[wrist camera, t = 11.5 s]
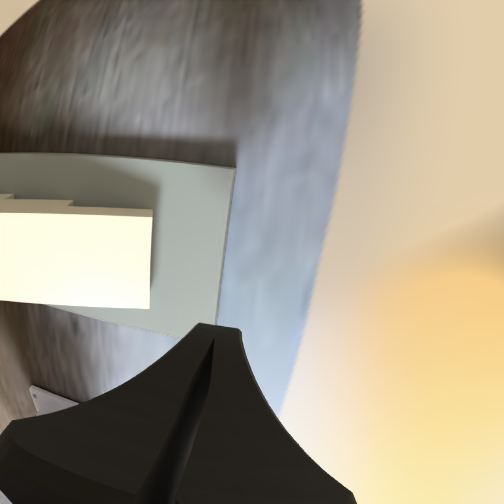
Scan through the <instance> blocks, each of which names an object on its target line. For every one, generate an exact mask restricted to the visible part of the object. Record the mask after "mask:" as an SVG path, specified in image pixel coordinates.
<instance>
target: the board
mask: <svg viewBox="0 0 504 504" xmlns="http://www.w3.org/2000/svg"><path fill="white" fill-rule="evenodd" d="M235 174H236V168H234V167H226V166H218V165H210V164H202V163H193V162H184V161H175V160H164V159H153V158H142V157H129V156H114V155H97V154H75V153H27V152H20V153H0V194H14V199H43V200H73V206H79V207H108V208H132V209H153V216H152V234H151V256H150V302H149V309H140V308H110V307H88V306H70V305H54V304H45V305H48V306H51V307H55V308H58V309H62V310H65V311H69V312H72V313H76V314H79V315H83V316H87V317H91V318H95V319H99V320H102V321H106V322H110V323H115V324H119V325H123V326H127V327H132V328H136V329H140V330H145V331H150V332H154V333H159V334H164V335H169V336H174V337H179V338H183V337H184V336H185V335H186V334H187V333H188V332H189V331H190V330H191V329H192V328H193V327H194V326H195V325H196V324H198V323H199V322H200V323H206V324H212V325H217V316H218V307H219V298H220V290H221V281H222V273H223V265H224V257H225V249H226V241H227V233H228V225H229V218H230V210H231V203H232V195H233V188H234V181H235Z"/></svg>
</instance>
